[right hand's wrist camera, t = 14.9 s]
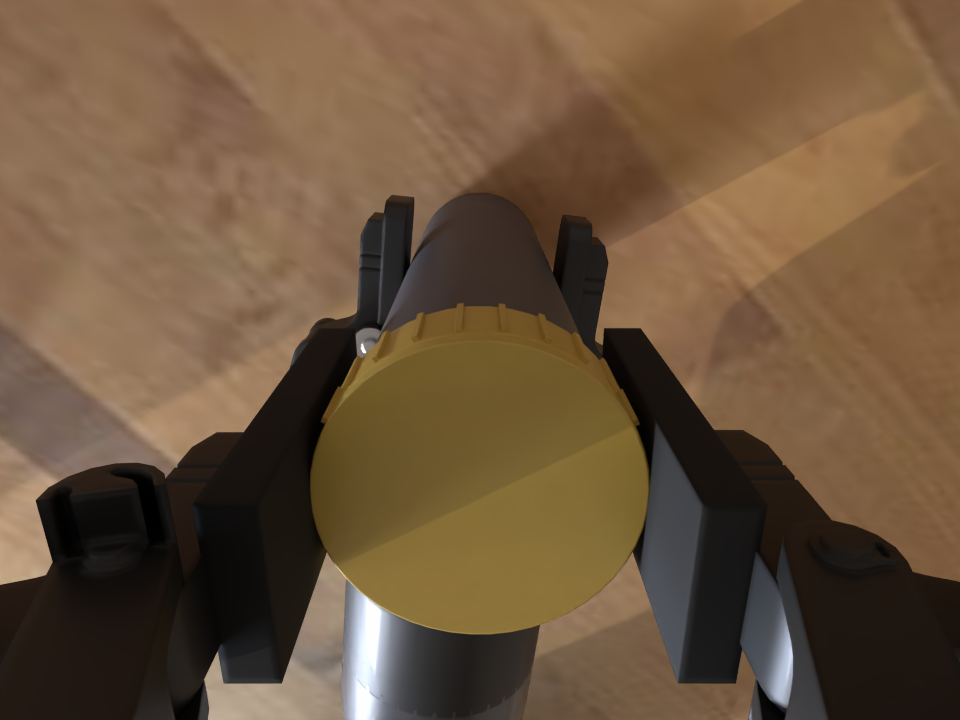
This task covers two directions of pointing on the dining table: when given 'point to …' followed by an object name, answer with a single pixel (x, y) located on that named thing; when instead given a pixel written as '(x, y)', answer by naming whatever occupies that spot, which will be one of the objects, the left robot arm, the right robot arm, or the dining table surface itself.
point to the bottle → (479, 265)
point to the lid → (479, 472)
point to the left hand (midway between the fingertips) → (488, 211)
